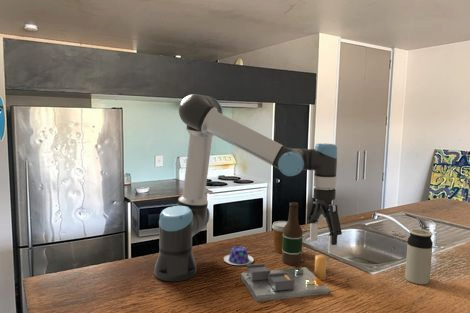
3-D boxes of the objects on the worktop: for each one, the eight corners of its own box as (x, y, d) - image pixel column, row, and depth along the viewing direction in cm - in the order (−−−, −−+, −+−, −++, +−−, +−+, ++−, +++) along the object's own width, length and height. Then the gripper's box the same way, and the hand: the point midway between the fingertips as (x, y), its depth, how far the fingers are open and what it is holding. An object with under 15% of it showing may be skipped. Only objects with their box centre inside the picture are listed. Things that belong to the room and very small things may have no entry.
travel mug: (419, 286, 128) (423, 236, 126) (399, 277, 135) (403, 229, 133) (434, 282, 132) (438, 233, 130) (414, 274, 139) (418, 227, 137)
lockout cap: (317, 280, 131) (318, 259, 130) (312, 276, 134) (313, 255, 134) (327, 279, 132) (328, 258, 131) (322, 275, 136) (323, 254, 135)
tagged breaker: (275, 290, 117) (275, 281, 117) (268, 281, 124) (268, 273, 123) (293, 288, 119) (294, 280, 119) (285, 280, 125) (286, 271, 125)
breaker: (252, 280, 124) (252, 272, 124) (246, 272, 130) (246, 264, 130) (270, 278, 126) (270, 270, 126) (263, 271, 132) (264, 263, 132)
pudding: (228, 268, 140) (228, 254, 140) (220, 256, 152) (220, 244, 151) (257, 265, 144) (258, 252, 143) (248, 254, 155) (248, 242, 154)
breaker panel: (256, 301, 115) (256, 292, 114) (240, 278, 131) (241, 270, 131) (328, 293, 121) (328, 284, 121) (305, 272, 138) (305, 264, 137)
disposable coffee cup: (292, 247, 163) (293, 221, 162) (293, 255, 154) (295, 227, 153) (270, 246, 164) (272, 220, 163) (270, 254, 155) (272, 226, 154)
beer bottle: (302, 259, 150) (305, 201, 147) (299, 267, 142) (302, 206, 140) (283, 257, 152) (286, 199, 150) (279, 263, 145) (282, 203, 142)
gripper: (354, 194, 119) (351, 258, 121) (317, 181, 142) (315, 234, 145) (333, 195, 117) (330, 260, 119) (299, 182, 140) (297, 236, 143)
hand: (322, 246), depth 132 cm, fingers open, 13 cm apart
